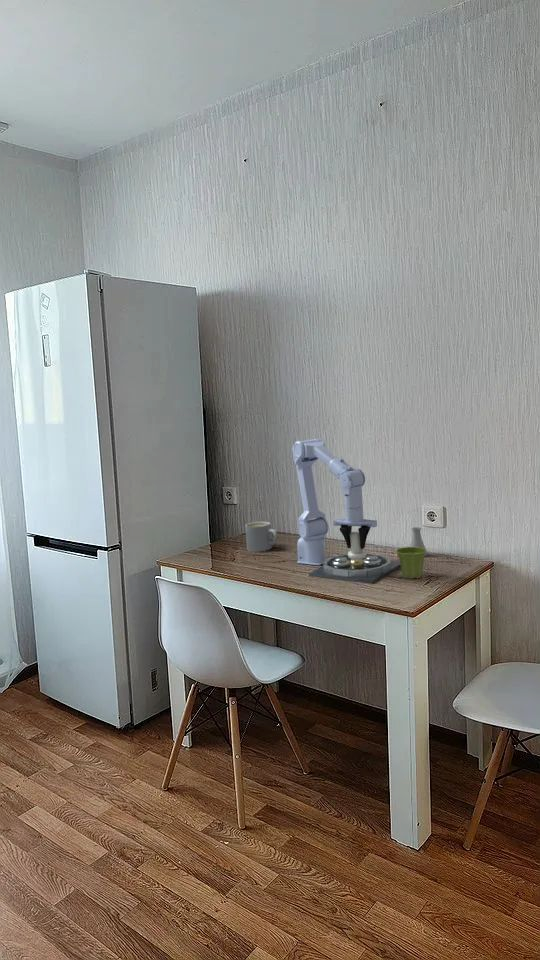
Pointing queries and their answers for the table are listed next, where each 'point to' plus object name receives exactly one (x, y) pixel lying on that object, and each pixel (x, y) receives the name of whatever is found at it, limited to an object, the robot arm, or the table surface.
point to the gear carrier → (356, 568)
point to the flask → (417, 539)
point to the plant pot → (411, 561)
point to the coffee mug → (259, 536)
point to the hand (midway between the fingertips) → (356, 547)
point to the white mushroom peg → (356, 547)
